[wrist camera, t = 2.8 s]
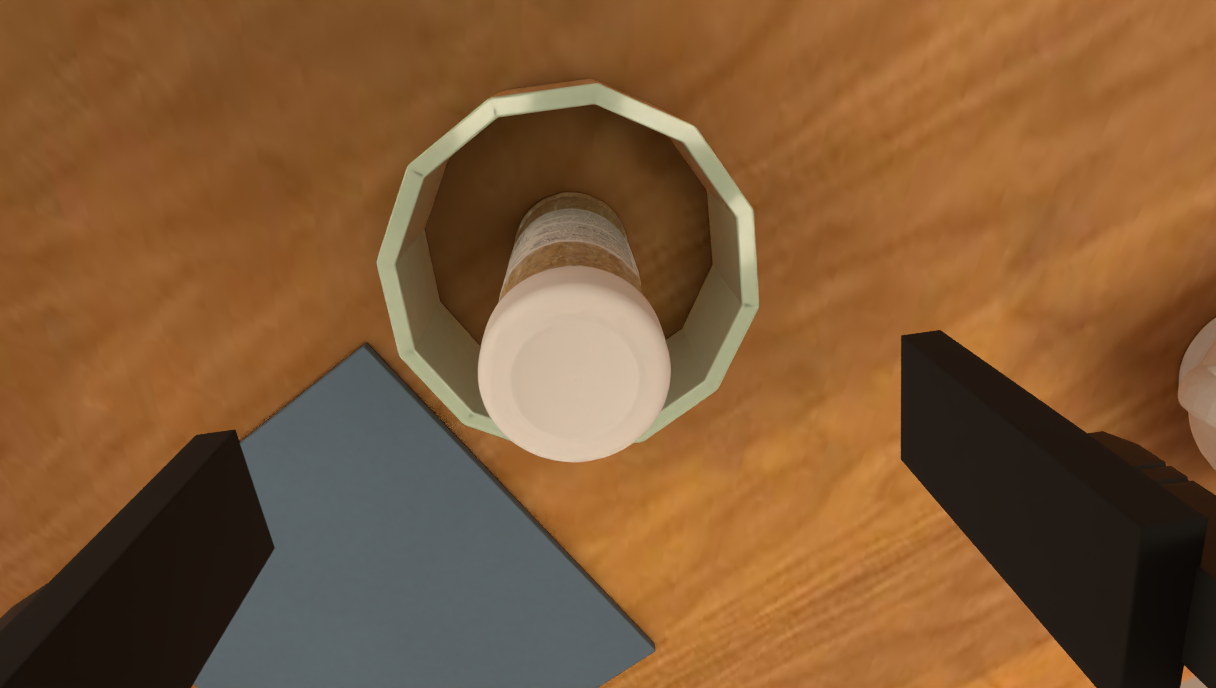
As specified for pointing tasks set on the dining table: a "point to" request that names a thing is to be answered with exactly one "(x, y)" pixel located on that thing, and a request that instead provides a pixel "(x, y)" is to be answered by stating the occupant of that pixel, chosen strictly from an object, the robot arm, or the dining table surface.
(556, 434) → the sprinkles bottle
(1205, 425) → the teacup
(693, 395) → the pale green ring
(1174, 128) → the dining table surface
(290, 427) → the rubber mat
